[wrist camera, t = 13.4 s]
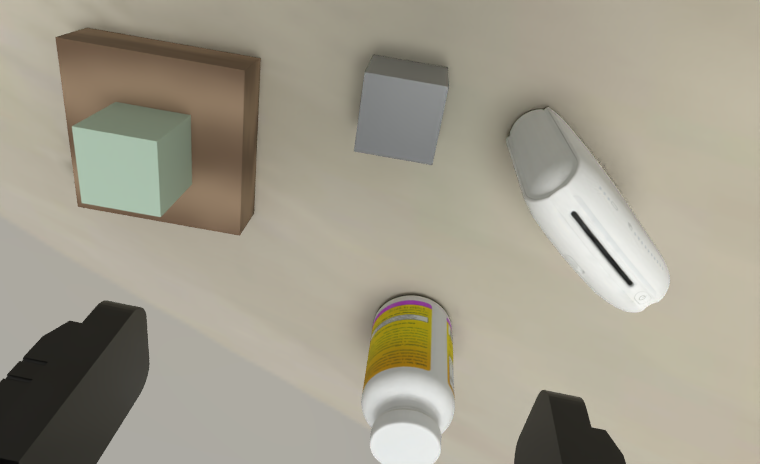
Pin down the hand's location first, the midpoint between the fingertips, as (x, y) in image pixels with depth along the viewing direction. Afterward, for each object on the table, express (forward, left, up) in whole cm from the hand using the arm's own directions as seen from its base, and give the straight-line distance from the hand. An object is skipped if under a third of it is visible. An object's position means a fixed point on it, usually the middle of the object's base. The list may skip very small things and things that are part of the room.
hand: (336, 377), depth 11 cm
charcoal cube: (+3, 0, -30) cm, 30 cm away
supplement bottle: (+22, +4, -30) cm, 37 cm away
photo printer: (+6, +12, -30) cm, 33 cm away
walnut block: (+8, -16, -30) cm, 35 cm away
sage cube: (+8, -16, -26) cm, 31 cm away
